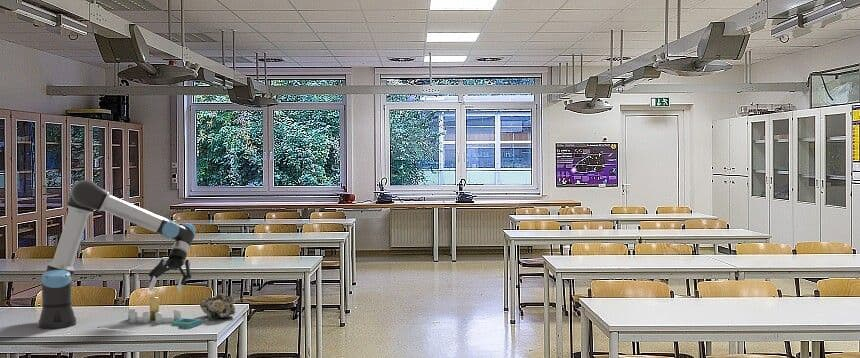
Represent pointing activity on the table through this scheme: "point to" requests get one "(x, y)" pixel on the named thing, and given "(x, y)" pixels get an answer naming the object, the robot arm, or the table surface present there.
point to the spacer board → (140, 321)
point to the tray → (187, 325)
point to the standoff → (154, 307)
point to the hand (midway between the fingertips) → (164, 289)
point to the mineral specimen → (218, 306)
